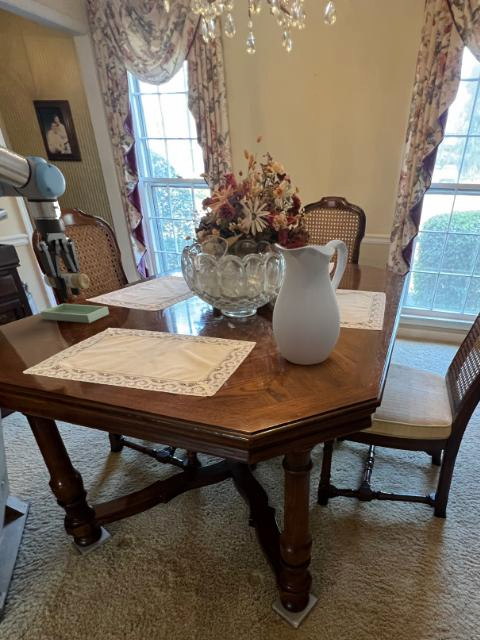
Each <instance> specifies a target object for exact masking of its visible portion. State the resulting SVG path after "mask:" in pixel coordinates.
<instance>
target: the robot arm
mask: <svg viewBox="0 0 480 640" xmlns="http://www.w3.org/2000/svg"><path fill="white" fill-rule="evenodd" d="M65 190H66V180H65V177H64V175H63V173H62V172H61V170H60V169H59V167H57V166H55V165H54V164H53V163H49V162H47V161H46V159H44V158H43V157H40V156H24V155H21V154H19V153H17V152H15V151H14V150H11V149H9V148H8V147H5V146H3V145H1V144H0V198H3V197H4V198H6V197H7V198H8V197H9V198H10V197H11V198H13V197H15V198H26V200H27V202H28V206H29V209H30V213H31V216H32V217H33V218H34V220H33V222H34V226H35V228H36V232H37V233H38V234H39V235H40V242H38V243H37V242H36V243H34V247H35V249H36V251H37V252H38V254H39V258H40V260H41V264H42V267H43V269H44V272H45V274H46V276H47V277H50V278H53V279H54V281H55V285H56V287H55V288H56V289H57V290H58V293H59V296H60V299H61V300H70V299H71V298H70V294H69V290H68V287H66V283H65V280H64V278H61V273H62V272H61V264H60V259H61V261H62V263H63V265H64V267H65V269H66V272H67V273H71V274H80V271H81V266H80V263H79V259H78V255H77V252H76V248H75V247H76V246H75V239H74V238H69V237H67V235H66V234H65V232H66V230H67V229H66V225H65V223H64V219H62V218H61V217H62V212H61V208H60V205H59V202H58V197H61V196H62V195H64V193H65ZM70 291H71V295H72V296H81V295H82V294H81V290H80V288H70Z"/></svg>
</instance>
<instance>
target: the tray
mask: <svg viewBox="0 0 480 640" xmlns="http://www.w3.org/2000/svg"><path fill="white" fill-rule="evenodd" d="M40 315H41V317H42V320H50V321H60V322H61V321H62V322H63V321H64V322H73V323H74V322H75V323H86V324H90V323H93V322H95V321H96V320H99V319H101V318H103V317H106V316H109V315H110V311H109V307H108V306H102V305H88V304H75V303H61V304H58V305H55V306H52V307H49V308H47V309H44V310H41V311H40Z"/></svg>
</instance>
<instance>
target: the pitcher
mask: <svg viewBox="0 0 480 640" xmlns="http://www.w3.org/2000/svg"><path fill="white" fill-rule="evenodd" d="M274 246H275V248H276V250H278V251H279V252H280V253H279V254H280V255H281V256H282V257H283V259H284V264H285V269H284V277H283V279H282V283H281V285H280V288H279V291H278V294H277V297H276V300H275V304H274V306H273V307H274V308H273V312H272V331H273V336H274V341H275V343H276V347H277V348H278V350H279V351H280V353H281V354H282V356H283V357H284V358H285V360H286V361H288V362H290V363H292V364H296V365H303V366H308V365H309V366H310V365H317V364H320V363H322V362H325V361H326V360H327V359H328V357H329V356H330V355H331V354H332V352H333V350H334V349H335V347H336V345H337V342H338V339H339V337H340V331H341V324H342V323H341V320H342V317H341V309H340V305H339V301H338V297H337V294H336V292H337V290H338V287H339V285H340V282H341V280H342V278H343V275H344V273H345V270H346V267H347V262H348V257H349V251H348V245H347V244H346V243H345V242H344V241H343V240H340V239H333V240H330V241H328V242H327V243H326V244H325V245H319V244H318V245H317V244H311V245H306V246H302V247H298V248H297V247H296V248H284V247H282V246H280V245H279V244H278V243H274ZM336 250H337V262H336V268H335V271H334V275H333V277H332V278H331V275H330V262H331V260H332V258H333V257H334V255H335V253H336Z"/></svg>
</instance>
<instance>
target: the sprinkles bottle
mask: <svg viewBox="0 0 480 640" xmlns="http://www.w3.org/2000/svg"><path fill="white" fill-rule="evenodd" d="M61 278H64V280H65V283H66V287H67V288H70V289H71V288H79V289H83V290H84V289H88V288H89V286H90V282H91V281H90V278H89V276H88V275H87V274H85V273H79V274H71V273H68V272H67V273H65V272H61ZM43 280H44V283H45V284H46V286H47V287H49V288H56V285H55V281H54V279H53V278H50V277H47V276H46V273H45V274H44V275H43Z"/></svg>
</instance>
